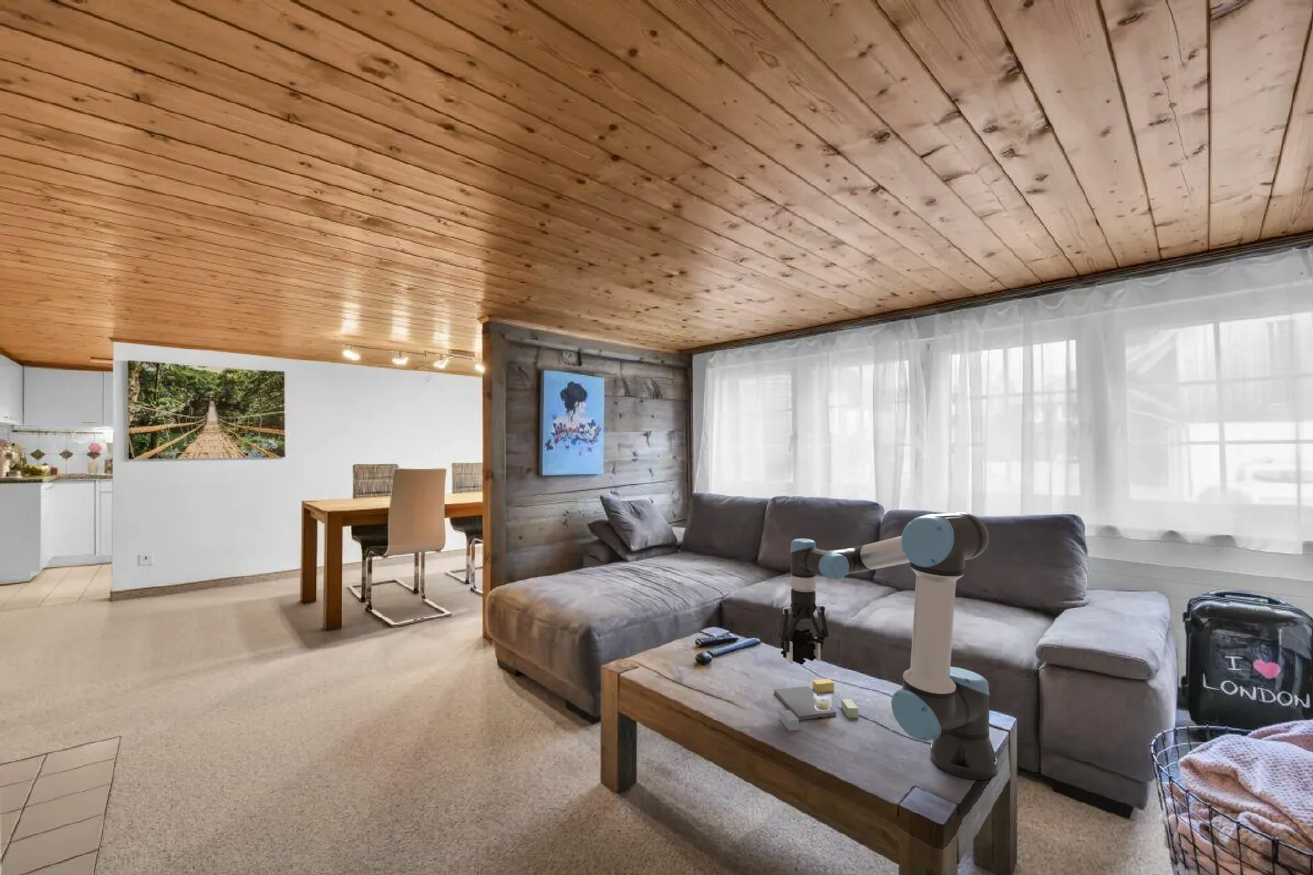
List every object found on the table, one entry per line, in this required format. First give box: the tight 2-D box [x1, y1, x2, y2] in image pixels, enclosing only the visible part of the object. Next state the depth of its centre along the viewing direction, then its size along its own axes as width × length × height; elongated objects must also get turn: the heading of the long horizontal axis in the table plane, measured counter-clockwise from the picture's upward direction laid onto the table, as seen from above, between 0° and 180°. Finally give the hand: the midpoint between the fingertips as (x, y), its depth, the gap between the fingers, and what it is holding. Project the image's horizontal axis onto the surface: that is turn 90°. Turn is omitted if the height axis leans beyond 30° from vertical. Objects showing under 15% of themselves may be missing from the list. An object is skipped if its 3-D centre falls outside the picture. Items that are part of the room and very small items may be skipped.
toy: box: [780, 623, 825, 665], centre depth 174 cm, size 8×14×10 cm, turn 36°
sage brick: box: [840, 698, 859, 719], centre depth 168 cm, size 6×3×3 cm, turn 0°
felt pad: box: [773, 685, 837, 721], centre depth 173 cm, size 18×12×1 cm, turn 11°
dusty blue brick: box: [779, 709, 800, 732], centre depth 161 cm, size 6×3×3 cm, turn 12°
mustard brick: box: [812, 678, 835, 693], centre depth 183 cm, size 6×3×3 cm, turn 102°
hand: (803, 660), depth 174 cm, fingers closed on toy, 9 cm apart
